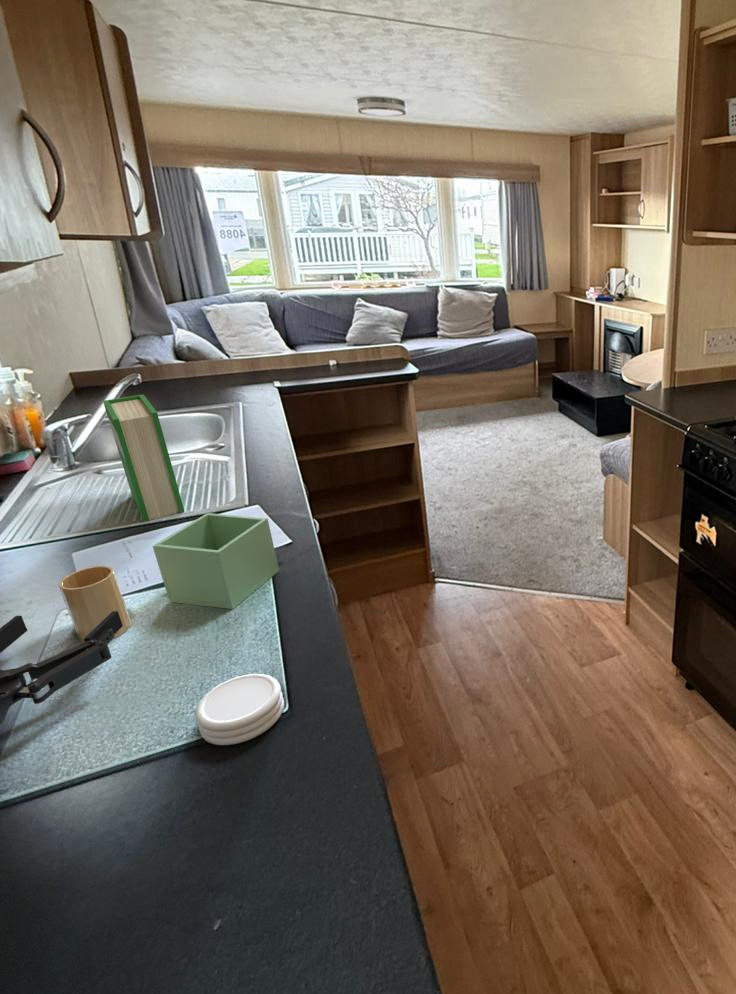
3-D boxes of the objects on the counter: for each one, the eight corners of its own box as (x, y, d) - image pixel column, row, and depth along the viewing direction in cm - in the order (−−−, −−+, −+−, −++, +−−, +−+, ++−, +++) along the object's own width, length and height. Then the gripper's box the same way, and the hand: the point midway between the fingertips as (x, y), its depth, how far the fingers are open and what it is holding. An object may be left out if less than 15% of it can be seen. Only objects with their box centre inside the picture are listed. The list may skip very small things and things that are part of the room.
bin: (169, 601, 112) (152, 545, 107) (220, 564, 123) (207, 512, 119) (233, 609, 109) (218, 552, 105) (279, 571, 121) (267, 518, 117)
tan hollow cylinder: (68, 641, 102) (47, 587, 98) (106, 615, 108) (87, 564, 104) (105, 646, 101) (85, 591, 97) (141, 620, 107) (124, 567, 103)
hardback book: (186, 517, 141) (157, 412, 132) (146, 528, 137) (113, 420, 128) (170, 492, 154) (143, 394, 144) (133, 501, 149) (102, 400, 140)
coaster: (194, 757, 80) (187, 735, 79) (207, 703, 89) (201, 683, 88) (282, 734, 84) (277, 712, 82) (286, 684, 92) (282, 664, 91)
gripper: (-151, 758, 78) (-10, 645, 97) (69, 745, 79) (163, 637, 99) (-179, 709, 75) (-29, 603, 94) (49, 697, 76) (150, 595, 96)
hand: (70, 620), depth 97 cm, fingers open, 13 cm apart
